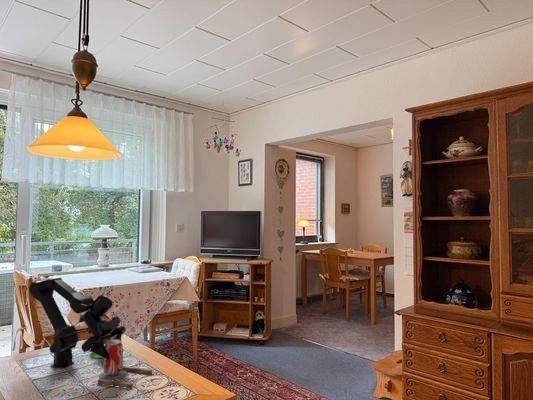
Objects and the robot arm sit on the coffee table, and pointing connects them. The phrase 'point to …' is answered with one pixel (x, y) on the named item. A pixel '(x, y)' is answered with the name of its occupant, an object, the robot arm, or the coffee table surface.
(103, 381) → the rail
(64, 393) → the coffee table surface
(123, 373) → the coaster
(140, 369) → the rail
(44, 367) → the coffee table surface
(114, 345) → the soda can
